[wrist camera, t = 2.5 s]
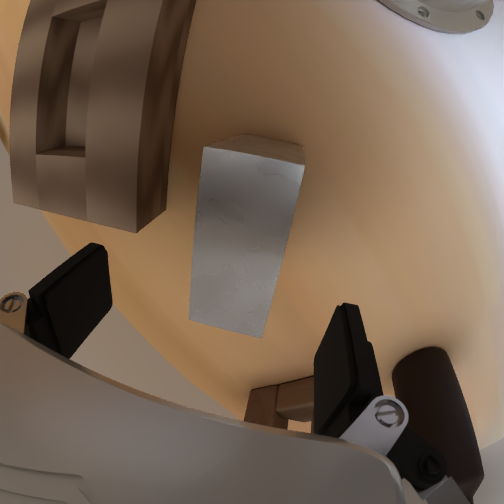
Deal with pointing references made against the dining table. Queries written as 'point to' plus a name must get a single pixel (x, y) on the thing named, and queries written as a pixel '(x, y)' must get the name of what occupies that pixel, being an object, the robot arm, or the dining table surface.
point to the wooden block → (282, 404)
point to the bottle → (440, 414)
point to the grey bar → (242, 229)
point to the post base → (97, 107)
